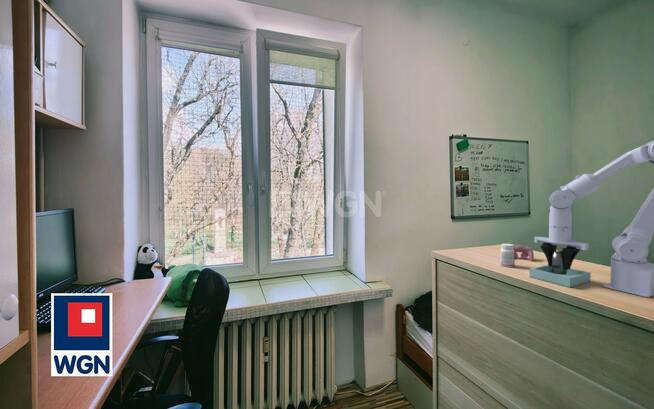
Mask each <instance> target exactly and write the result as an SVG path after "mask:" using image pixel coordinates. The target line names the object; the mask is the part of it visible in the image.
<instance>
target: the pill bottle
mask: <svg viewBox="0 0 654 409" xmlns="http://www.w3.org/2000/svg"><path fill="white" fill-rule="evenodd" d="M514 245H515V244H513V243H501V248H500V253H499V254H500V256H499V259H500V261H499V265H500V266H502V267H505V268H514V267H515V266H516V265H515V262H516V261H515V259H516V258H515V251H514V250H513V249H514Z"/></svg>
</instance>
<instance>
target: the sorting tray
mask: <svg viewBox="0 0 654 409" xmlns="http://www.w3.org/2000/svg"><path fill="white" fill-rule="evenodd" d="M591 274H592V272H590V271H585V270H580V269H576V268H572V267H571V268H570V269H568V270H567V274H566V275H559V274H554V273H552V272H551V266H549V265H548V263H547V264H543V265H539V266H535V267H530V268H529V278H532V279H535V280H539V281H543V282H546V283H551V284H554V285H558V286H561V287H565V288H568V289H569V288H570V289H571V288H573V287H577V286H580V285H584V284H587V283H590V282H591Z"/></svg>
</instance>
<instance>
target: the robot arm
mask: <svg viewBox="0 0 654 409" xmlns="http://www.w3.org/2000/svg"><path fill="white" fill-rule="evenodd" d="M646 162H648V163H651V164H652V165H653V166H654V140H651V141H648V142H647V143H645V144H643V145H641V146H639V147H636V148H634V149H632V150H630V151H627V152H626V153H624V154H622V155H621V156H619V157H617V158H616V159H614V160H612V161H611V162H610V163H608V164H607V165H605V166H603V167H602V168H600V169H598V170H597V171H596V172H594V173H583V174H578V175H576V176H575V177H574V178H575V179H573V180H572V181H570V182H569V183H567V184H566V185H561V186H560V187H559V189H557V190H555V191H554V192H552V193H551V194H550V196H549V198H548V200H549V203H550V207H549V211H550V212H548V213H549V214H548V237H546V236H534V238H533V239H534V240H533V242H534V243H536V244H538V243H540V244H541V245H540V248H541V250H542V252H543V254H544V255H545V257H546V261H547V264H548V265H549V266H551V264H552V251H556V250H557V247H562V249H561V250H563V254H564V269H565V270H568V269H570V268H572V265H573V261H574V259H575V257H576V256H577V255H578V254H579V252H580V251H589V249H590V243H587V242H583V241H582V242H581V241H577V240H572V233H573V232H572V228H573V227H572V226H573V225H572V224H573V223H572V222H573V219H572V218H573V213H572V205H573V203H574V201H580V200H581V199H582V198H585V197H586V196H588V195H590V194H591V193H593V192H595V191H597V190H599V189H600V188H601V184H602V182H603V181H604V180H606V179H609V178H611V177H613V176H614V175H616V174H618V173H619V172H621V171H623V170H625V169H627V168H629V167H630V166H632V165H637V164H641V163H646ZM653 234H654V187H653V188H652V190H651V191H650V193H649V194H648V196H647V197H646V198H645V201H643V204H642V205H641V206H640V209H639V210H638V211H637V213H636V214H635V215H634V217H633V219H632V221H631V222H630V224H629V225H628V226H627V227H626V228H625V229H624V230H623V231H622V233H621V234H620V235H618V236H616V237H615V238H613V239H612V241H611V248H612V249H613V250H614V253H613V254H612V255H611V256H610V282H609V283H605V284H603V287H604V288H608V289H611V290H616V291H619V292H624V293H629V294H633V295H637V296H640V297H645V298H651V297H653V296H654V263H652V262H648V259H647V257H648V256H649V246H650V245H651V244H650V243H651V242H652V241H653ZM563 247H564V248H563Z"/></svg>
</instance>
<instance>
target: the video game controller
mask: <svg viewBox="0 0 654 409" xmlns="http://www.w3.org/2000/svg"><path fill="white" fill-rule="evenodd" d="M513 245H514V249H513V250H514V251H515V259H517V258H518V256H519V254H518V253H520V258H521V259H522V260H526V259H527V258H529V261H531V262H534V260H535V256H534V252H533V249H532V248H531V247H530V246H526V245H523V244H513Z"/></svg>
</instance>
